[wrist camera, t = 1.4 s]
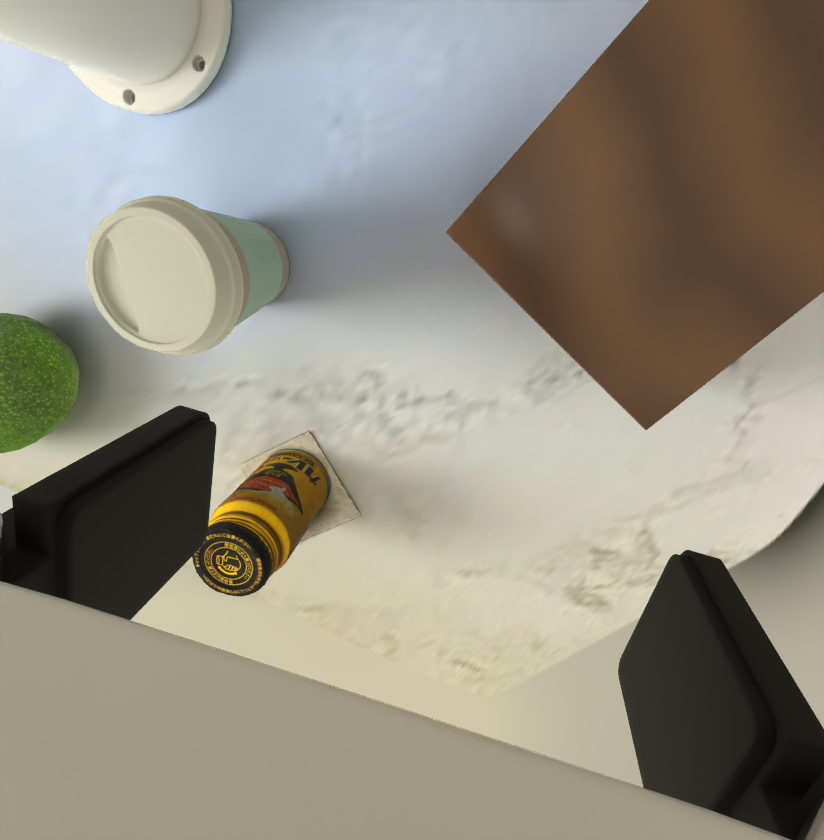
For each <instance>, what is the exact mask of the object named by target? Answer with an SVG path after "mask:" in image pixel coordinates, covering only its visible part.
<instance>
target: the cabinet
mask: <svg viewBox="0 0 824 840" xmlns="http://www.w3.org/2000/svg"><path fill="white" fill-rule="evenodd" d="M446 233H447V234H448V235H449V236H450V237H451V238H452V239H453V240H454V241H455V242H456V243H457V244H458V245H459V246H460V247H461V248H462V249H463V250H464V251H465V252H466V253H467V254H468V255H469V256H470V257H471V258H472V259H473V260H474V261H475V262H476V263H477V264H478V265H479V266H480V267H481V268H482V269H483V270H484V271H485V272H486V273H487V274H488V275H489V276H490V277H491V278H492V279H493V280H494V281H495V282H496V283H497V284H498V285H499V286H500V287H501V288H502V289H503V290H504V291H505V292H506V293H507V294H508V295H509V296H510V297H511V298H512V299H514V300H515V301H516V302H517V303H518V304H519V305H520V306H521V307H522V308H523V309H524V310H525V311H526V312H527V313H528V314H529V315H530V316H531V317H532V318H533V319H534V320H535V321H536V322H537V323H538V324H539V325H540V326H541V327H542V328H543V329H544V330H545V331H546V332H547V333H548V334H549V335H550V336H551V337H552V338H553V339H554V340H555V341H556V342H557V343H558V344H559V345H560V346H561V347H562V348H563V349H564V350H565V351H566V352H567V353H568V354H569V355H570V356H571V357H572V358H573V359H574V360H575V361H576V362H577V363H578V364H579V365H580V366H581V367H582V368H583V369H584V370H585V371H586V372H587V373H588V374H589V375H590V376H591V377H592V378H593V379H594V380H595V381H596V382H597V383H598V384H599V385H600V386H601V387H602V388H603V389H604V390H605V391H606V392H607V393H608V394H609V395H610V396H611V397H612V398H613V399H614V400H615V401H616V402H617V403H618V404H619V405H620V406H622V407H623V408H624V409H625V410H626V411H627V412H628V413H629V414H630V415H631V416H632V417H633V418H634V419H635V420H636V421H637V422H638V423H639V424H640V425H641V426H642V427H643V428H644V429H645V430H647V429H648V428H650V427H651V426H652V425H653V424H655V423H656V422H657V421H659V420H660V419H661V418H662V417H664V416H665V415H666V414H668V413H669V412H670V411H671V410H673V409H674V408H675V407H677V406H678V405H679V404H680V403H682V402H683V401H684V400H685V399H687V398H688V397H689V396H691V395H692V394H693V393H694V392H696V391H697V390H698V389H700V388H701V387H702V386H703V385H705V384H706V383H707V382H708V381H710V380H711V379H712V378H714V377H715V376H716V375H717V374H719V373H720V372H721V371H723V370H724V369H725V368H726V367H728V366H729V365H730V364H732V363H733V362H734V361H735V360H737V359H738V358H739V357H740V356H742V355H743V354H744V353H746V352H747V351H748V350H749V349H751V348H752V347H753V346H755V345H756V344H757V343H758V342H760V341H761V340H762V339H764V338H765V337H766V336H767V335H769V334H770V333H771V332H772V331H774V330H775V329H776V328H778V327H779V326H780V325H781V324H783V323H784V322H785V321H787V320H788V319H789V318H790V317H792V316H793V315H794V314H795V313H797V312H798V311H799V310H801V309H802V308H803V307H804V306H806V305H807V304H808V303H810V302H811V301H812V300H813V299H815V298H816V297H817V296H819V295H820V294H821V293H822V292H824V0H649V1H648V2H647V3H646V5H645V6H644V7H643V8H642V9H641V10H640V11H639V13H638V14H637V15H636V16H635V17H634V18H633V19H632V20H631V22H630V23H629V24H628V25H627V26H626V27H625V28H624V30H623V31H622V32H621V33H620V34H619V35H618V36H617V38H616V39H615V40H614V41H613V42H612V43H611V44H610V46H609V47H608V48H607V49H606V50H605V51H604V52H603V54H602V55H601V56H600V57H599V58H598V59H597V60H596V62H595V63H594V64H593V65H592V66H591V67H590V68H589V70H588V71H587V72H586V73H585V74H584V75H583V76H582V77H581V79H580V80H579V81H578V82H577V83H576V84H575V85H574V87H573V88H572V89H571V90H570V91H569V92H568V93H567V95H566V96H565V97H564V98H563V99H562V100H561V101H560V103H559V104H558V105H557V106H556V107H555V108H554V109H553V111H552V112H551V113H550V114H549V115H548V116H547V117H546V119H545V120H544V121H543V122H542V123H541V124H540V125H539V127H538V128H537V129H536V130H535V131H534V132H533V133H532V135H531V136H530V137H529V138H528V139H527V140H526V141H525V142H524V144H523V145H522V146H521V147H520V148H519V149H518V150H517V152H516V153H515V154H514V155H513V156H512V157H511V158H510V160H509V161H508V162H507V163H506V164H505V165H504V166H503V168H502V169H501V170H500V171H499V172H498V173H497V174H496V176H495V177H494V178H493V179H492V180H491V181H490V182H489V184H488V185H487V186H486V187H485V188H484V189H483V190H482V192H481V193H480V194H479V195H478V196H477V197H476V198H475V199H474V201H473V202H472V203H471V204H470V205H469V206H468V207H467V209H466V210H465V211H464V212H463V213H462V214H461V215H460V217H459V218H458V219H457V220H456V221H455V222H454V223H453V225H452V226H451V227H450V228H449V229H448V230H447V232H446Z"/></svg>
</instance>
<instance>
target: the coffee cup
mask: <svg viewBox="0 0 824 840" xmlns="http://www.w3.org/2000/svg"><path fill="white" fill-rule="evenodd" d="M289 271H290V265H289V258H288V254H287V251H286V249H285V247H284V245H283V243H282V242H281V240H280V239H279V238H278V236H277V235H276V234H275V233H274V232H273V231H271V230H270V229H269V228H267V227H265V226H263V225H261V224H258V223H255V222H251V221H247V220H243V219H239V218H235V217H231V216H227V215H223V214H219V213H215V212H211V211H206V210H202V209H199V208H198V207H196V206H194V205H193V204H191V203H189V202H186V201H184V200H181V199H178V198H174V197H170V196H148V197H144V198H141V199H136V200H133V201H131V202H128V203H126V204H124V205H123V206H121V207H120V208H118V209H117V210H116V211H115V212H114V213H112V214H110V215H109V216H107V217H106V218H105V219H104V220H103V221H102V222H101V223H100V224H99V225H98V227H97V228H96V230H95V231H94V233H93V235H92V237H91V240H90V242H89V246H88V250H87V256H86V273H87V280H88V284H89V288H90V291H91V294H92V297H93V299H94V301H95V303H96V305H97V307H98V309H99V311H100V312H101V314H102V315H103V317H104V318H105V319H106V321H107V322H108V323H109V324H110V325H111V326H112V328H113V329H115V330H116V331H117V332H118V333H119V334H120V335H121V336H123V337H124V338H126V339H127V340H128V341H130V342H132V343H133V344H135V345H138V346H140V347H142V348H145V349H148V350H152V351H159V352H163V353H167V354H175V355H184V354H194V353H199V352H203V351H206V350H208V349H210V348H212V347H214V346H216V345H217V344H219V343H220V342H221V341H223V340H224V339H225V338H226V337H227V336H228V334H229V333H230V332H231V331H232V329H233V327H235V326H236V325H238V324H239V323H241V322H242V321H243V320H245V319H246V318H248V317H249V316H251V315H252V314H254V313H255V312H257V311H258V310H260V309H261V308H262V307H264V306H265V305H267V304H268V303H270V302H271V301H272V300H274V299H275V298H277V297H278V296H279V295H280V294H281V293H282V291H283V290H284V288H285V286H286V284H287V281H288V278H289Z"/></svg>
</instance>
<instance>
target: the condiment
mask: <svg viewBox="0 0 824 840" xmlns="http://www.w3.org/2000/svg"><path fill="white" fill-rule="evenodd" d="M239 466H240V467H241V469H242V470H243V472H244V473H245V475H246V476H247V477H248V478H247V479H246V480H245V481H244V482H243V483H242V484H241V485H240V486H239V487H238V488H237V489H236V490H235V491H234V492H233V493H232V494H231V495H230V496H229V497H228V498H227V499H226V500H225V501H224V502H223V503H222V504H221V505H220V506H219V507H218V508H217V509H216V510H215V511H214V513H213V515H212V517H211V519H210V523H209V524H208V531H207V535H206V538H205V541H204V543H203V544H202V546H201V547H200V548H199V549H198V550H197V551H196V553H195V554H194V555H193V556H192V558H193V563H194V566H195V569H196V571H197V573H198V575H199V576H200V577H201V579H202V580H203V581H204V583H206V584H207V585H208V586H209V587H210V588H212V589H214V590H215V591H217V592H221V593H224V594H227V595H233V596H245V595H249V594H252V593H254V592H256V591H258V590H259V589H260V588H261V587H262V586H264V585H265V584H266V581H267V580H268V578H269V577H270V576H271V575H272V574H273V573H274V572H276V571H277V570H278V569H280V568H281V567H282V566H283V565H284V564H285V563H286V562H287V560H288V559H289V557H290V555H291V554H292V552H293V551H294V549H295V548H296V546H297V545H298V544H299V542H300V541H302V540H304V539H307V538H309V537H311V536H314V535H316V534H318V533H320V532H323V531H325V530H328V529H330V528H331V527H335V526H338V525H340V524H343V523H345V522H347V521H349V520H352V519H355V518H357V517H360V516H361V515H360V513H359V512H358V510H357V509H356V507H355V505H354V503H353V502H352V500H351V499H350V498H349V496H348V494H347V492H346V491H345V489H344V488H343V486H342V484H341V482H340V481H339V479H338V477H337V476H336V474H335V472H334V470H333V469H332V467H331V466H330V464H329V463H328V461H327V459H326V457H325V456H324V454H323V453H322V451H321V449H320V448H319V447H318V445H317V443H316V441H315V440H314V438H313V437H312V435H311V434H310V433H309V432H306V433H304V434H301V435H299V436H297V437H295V438H293V439H291V440H289V441H287V442H285V443H283V444H281V445H279V446H277V447H275V448H273V449H271V450H269V451H267V452H265V453H263V454H261V455H259V456H257V457H255V458H253V459H251V460H249V461H247V462H245V463H243V464H241V465H239Z"/></svg>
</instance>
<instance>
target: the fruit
mask: <svg viewBox="0 0 824 840" xmlns="http://www.w3.org/2000/svg"><path fill="white" fill-rule="evenodd" d="M79 379H80V373H79V365H78V363H77V361H76V358H75V356H74V354H73V351H72V350H71V349H70V348H69V347H68V345H67V344H66V343H65V342H64V341H63V340H62V339H61V338H60V337H59V336H58V335H56V334H55V333H54V332H53V331H52V330H51V329H50V328H48V327H47V326H45V325H44V324H42V323H40V322H38V321H35V320H33V319H31V318H29V317H26V316H21V315H14V314H8V313H0V453H5V452H10V451H15V450H19V449H22V448H24V447H26V446H28V445H30V444H32V443H34V442H36V441H38V440H39V439H41V438H42V437H44V436H45V435H47V434H48V433H50V432H51V431H53V430H54V429H55V428H56V427H57V426H58V425H59V424H60V423H61V422H62V421H63V420H64V418H65V417H66V415H67V414H68V412H69V411H70V409H71V408H72V406H73V405H74V403H75V400H76V398H77V396H78V388H79Z"/></svg>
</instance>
